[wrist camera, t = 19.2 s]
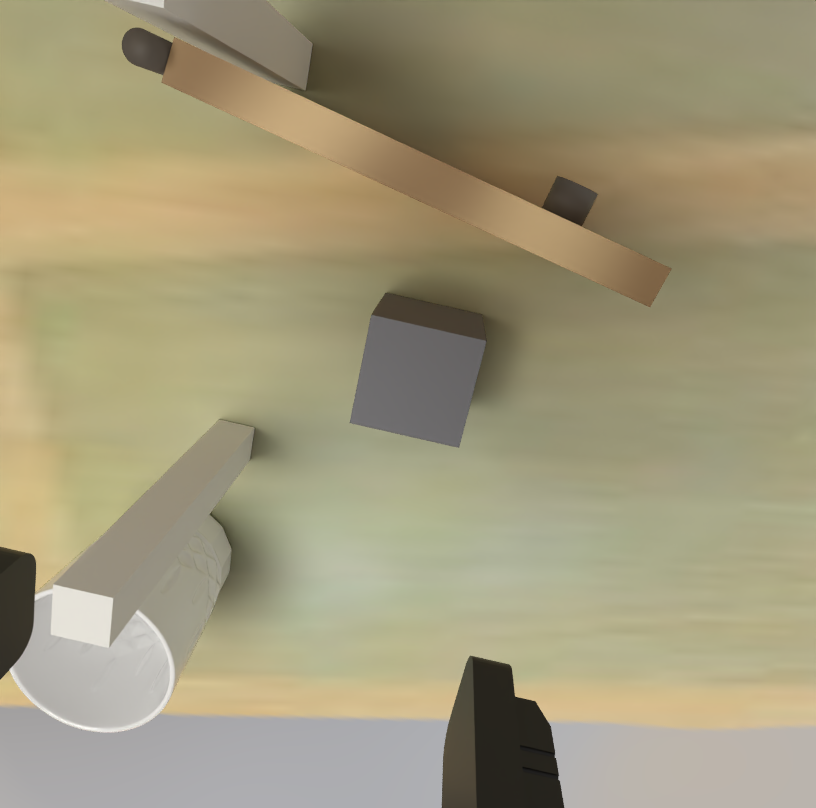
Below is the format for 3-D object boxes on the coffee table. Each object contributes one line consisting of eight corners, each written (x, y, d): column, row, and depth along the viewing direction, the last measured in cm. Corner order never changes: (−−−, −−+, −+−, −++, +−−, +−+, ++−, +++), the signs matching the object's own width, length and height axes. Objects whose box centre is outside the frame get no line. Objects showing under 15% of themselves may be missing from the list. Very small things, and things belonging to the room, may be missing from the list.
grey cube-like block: (385, 292, 34) (371, 314, 29) (482, 314, 34) (486, 340, 29) (366, 384, 36) (350, 422, 30) (459, 405, 36) (459, 447, 30)
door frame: (270, 34, 31) (88, -107, 16) (312, 43, 31) (172, -88, 16) (214, 452, 38) (50, 634, 23) (249, 460, 38) (109, 647, 23)
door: (268, 115, 32) (116, 62, 18) (286, 61, 31) (142, -39, 17) (571, 255, 33) (656, 311, 19) (596, 206, 32) (705, 226, 18)
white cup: (270, 556, 40) (210, 675, 30) (181, 628, 42) (100, 760, 32) (171, 461, 38) (75, 554, 29) (84, 541, 40) (-31, 651, 31)
